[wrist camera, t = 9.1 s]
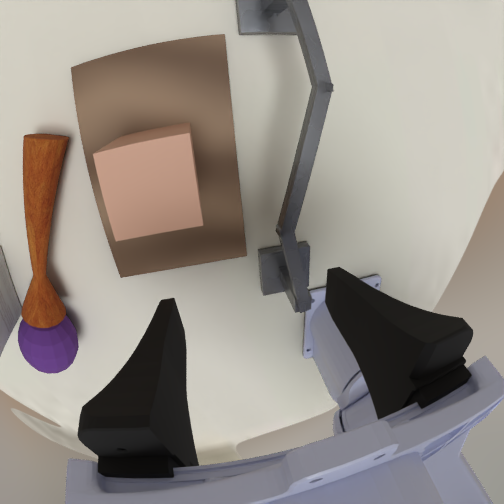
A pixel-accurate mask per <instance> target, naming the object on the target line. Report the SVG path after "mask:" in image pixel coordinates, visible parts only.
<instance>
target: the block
mask: <svg viewBox="0 0 504 504" xmlns="http://www.w3.org/2000/svg"><path fill="white" fill-rule="evenodd" d="M93 157H94V162H95V166H96V171H97V175H98V179H99V183H100V187H101V191H102V195H103V199H104V203H105V206H106V210H107V214H108V217H109V221H110V224H111V228H112V231H113V234H114V237H115V241H121V240H126V239H131V238H137V237H142V236H147V235H153V234H158V233H164V232H169V231H175V230H180V229H186V228H192V227H198V226H203V218H202V210H201V201H200V192H199V185H198V178H197V171H196V164H195V157H194V150H193V142H192V135H191V127H190V122H189V123H183V124H177V125H172V126H166V127H161V128H156V129H151V130H146V131H142V132H137V133H133V134H128V135H124V136H121V137H119V138H117V139H116V140H114V141H113V142H111V143H109V144H108V145H106V146H105V147H103V148H101V149H100V150H98V151H97V152H95V153H94V154H93Z"/></svg>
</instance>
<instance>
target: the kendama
mask: <svg viewBox="0 0 504 504" xmlns="http://www.w3.org/2000/svg"><path fill="white" fill-rule="evenodd" d="M68 139H69V137H66V136H60V135H50V134H29V135H25V136H24V142H23V190H24V208H25V219H26V229H27V238H28V245H29V252H30V258H31V264H32V270H33V278H32V280H31V283H30V286H29V289H28V291H27V294H26V297H25V300H24V303H23V306H22V312H21V315H22V317H23V319H22V321H21V323H20V327H19V331H18V343H19V346H20V350H21V352H22V354H23V356H24V358H25V359H26V361H27V362H28V363H29V364H30V365H31V366H33V367H34V368H35V369H37V370H38V371H41V372H44V373H59V372H61V371H63V370H66V369H67V368H68V367H69V366H70V365H71V364H72V363H73V361H74V359H75V357H76V354H77V351H78V348H79V347H78V338H77V333H76V329H75V327H74V326H73V324H72V322H71V321H70V319H69V318H68V317H67V315H66V308H65V306H64V304H63V303H62V301H61V300H60V298H59V296H58V294H57V293H56V291H55V289H54V288H53V286H52V284H51V282H50V281H49V279H48V277H47V275H46V267H47V254H48V244H49V235H50V227H51V219H52V213H53V206H54V201H55V195H56V190H57V185H58V180H59V175H60V171H61V166H62V162H63V158H64V154H65V150H66V146H67V143H68Z"/></svg>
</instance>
